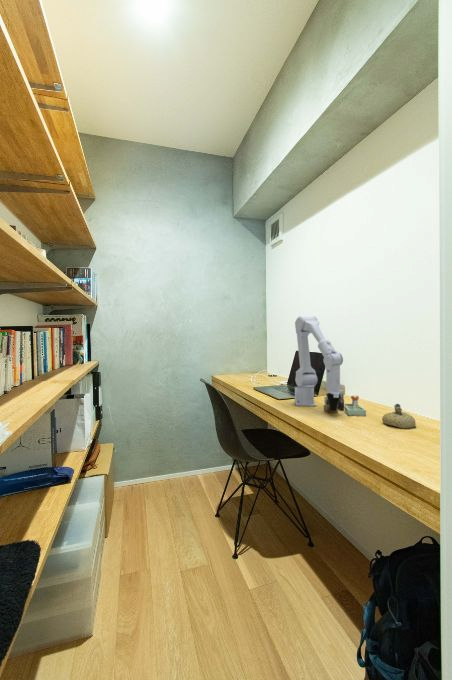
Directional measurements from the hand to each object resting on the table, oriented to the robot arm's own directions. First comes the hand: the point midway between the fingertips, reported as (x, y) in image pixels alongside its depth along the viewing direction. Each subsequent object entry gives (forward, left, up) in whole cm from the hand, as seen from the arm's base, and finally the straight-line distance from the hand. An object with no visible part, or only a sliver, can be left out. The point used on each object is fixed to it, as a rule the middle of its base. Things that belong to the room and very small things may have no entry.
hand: (333, 410), depth 137 cm
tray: (+10, +1, -1) cm, 10 cm away
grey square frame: (+11, +10, -1) cm, 15 cm away
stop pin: (+10, +1, -1) cm, 10 cm away
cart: (+3, +10, -1) cm, 11 cm away
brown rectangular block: (0, +3, -1) cm, 3 cm away
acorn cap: (+22, -13, -2) cm, 26 cm away
